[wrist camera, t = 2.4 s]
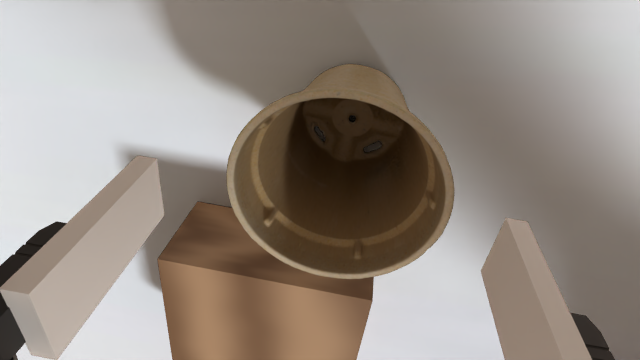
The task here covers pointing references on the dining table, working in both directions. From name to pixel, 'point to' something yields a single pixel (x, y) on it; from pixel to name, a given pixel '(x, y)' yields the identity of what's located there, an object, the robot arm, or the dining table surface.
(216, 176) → the dining table surface
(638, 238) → the dining table surface
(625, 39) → the dining table surface
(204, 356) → the walnut block
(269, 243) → the flower pot
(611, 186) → the dining table surface
